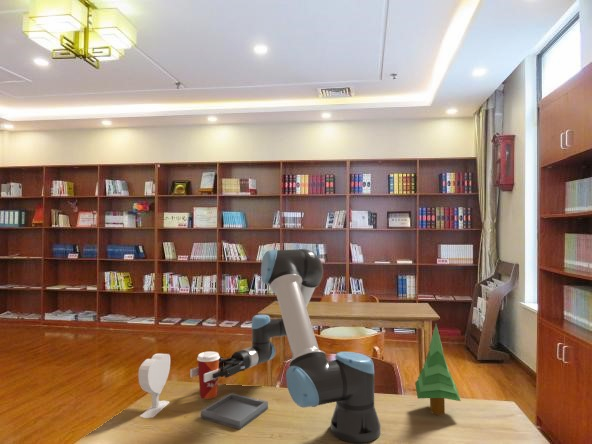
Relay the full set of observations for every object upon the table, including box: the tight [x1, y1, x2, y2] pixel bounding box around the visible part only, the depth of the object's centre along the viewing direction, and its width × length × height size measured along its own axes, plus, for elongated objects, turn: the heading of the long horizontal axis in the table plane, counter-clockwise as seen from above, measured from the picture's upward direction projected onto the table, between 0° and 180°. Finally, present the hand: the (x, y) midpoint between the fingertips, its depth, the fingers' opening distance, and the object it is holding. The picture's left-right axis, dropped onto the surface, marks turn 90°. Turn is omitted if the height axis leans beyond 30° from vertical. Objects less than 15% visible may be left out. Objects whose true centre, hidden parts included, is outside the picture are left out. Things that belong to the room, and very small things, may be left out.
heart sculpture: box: [137, 353, 171, 419], centre depth 141 cm, size 16×5×18 cm, turn 170°
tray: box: [200, 392, 269, 430], centre depth 137 cm, size 16×16×2 cm
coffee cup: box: [196, 350, 221, 400], centre depth 148 cm, size 8×8×15 cm
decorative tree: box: [414, 323, 462, 416], centre depth 137 cm, size 14×16×30 cm
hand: (197, 375), depth 144 cm, fingers closed on coffee cup, 7 cm apart
